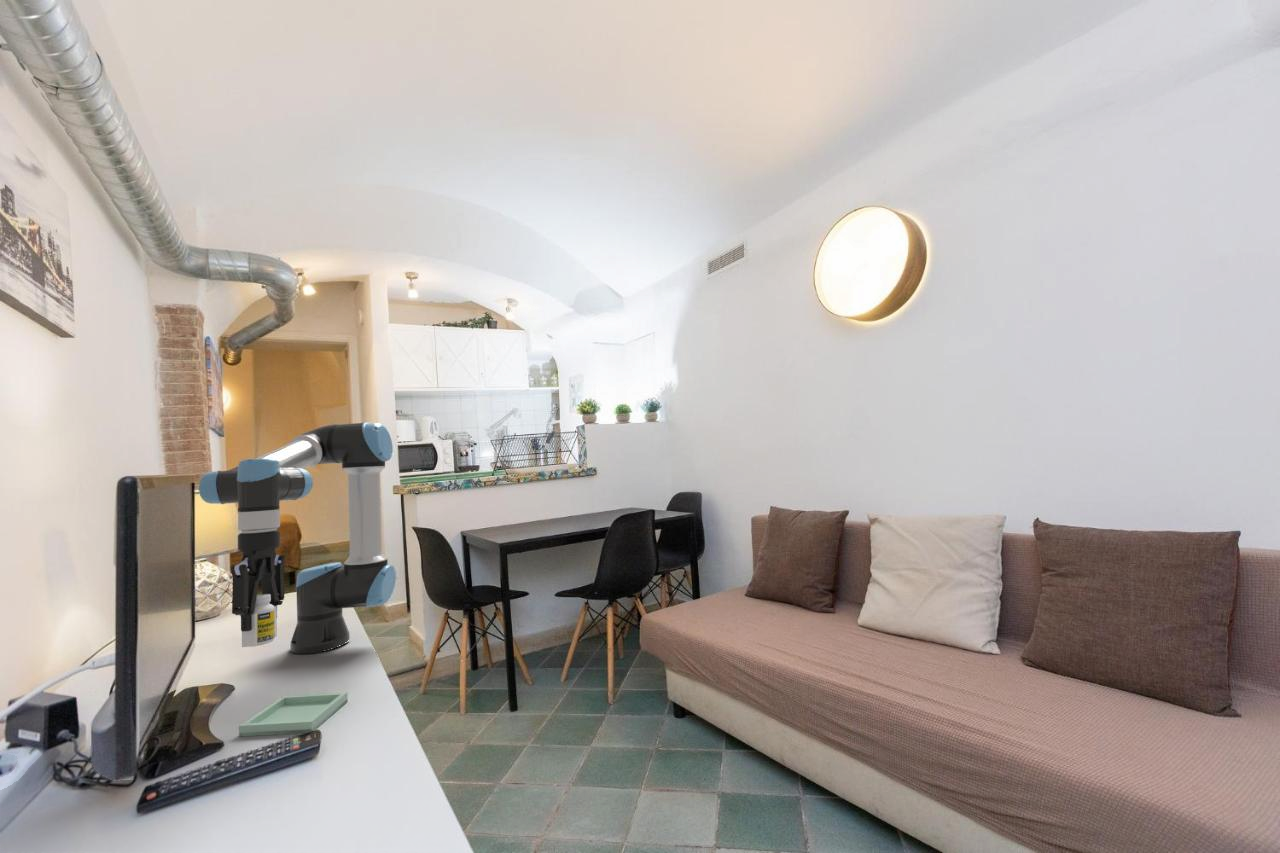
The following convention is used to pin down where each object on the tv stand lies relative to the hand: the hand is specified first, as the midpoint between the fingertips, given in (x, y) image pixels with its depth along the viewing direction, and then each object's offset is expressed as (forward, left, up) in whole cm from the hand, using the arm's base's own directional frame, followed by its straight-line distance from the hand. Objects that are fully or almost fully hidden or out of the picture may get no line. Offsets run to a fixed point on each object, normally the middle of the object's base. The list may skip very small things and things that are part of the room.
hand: (259, 641), depth 121 cm
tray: (+2, +9, -15) cm, 18 cm away
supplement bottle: (0, 0, -1) cm, 1 cm away
